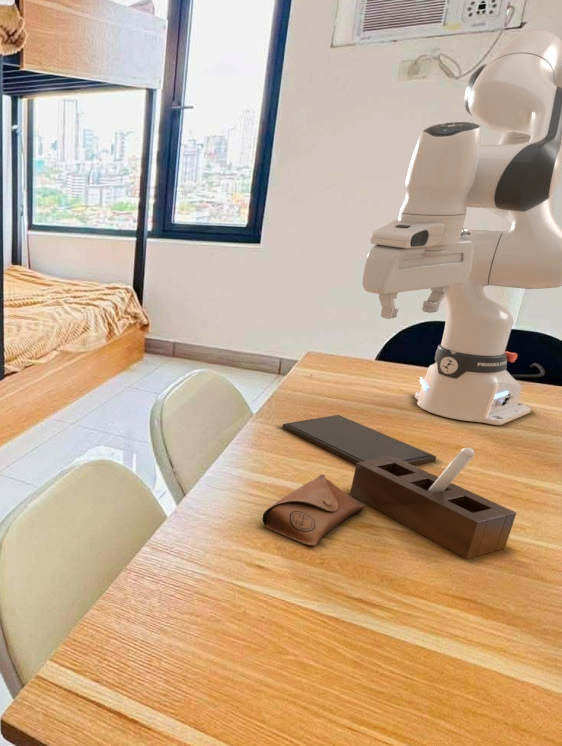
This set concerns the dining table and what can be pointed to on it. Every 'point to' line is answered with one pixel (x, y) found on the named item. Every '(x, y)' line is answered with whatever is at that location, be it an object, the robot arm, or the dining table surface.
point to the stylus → (452, 470)
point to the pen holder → (433, 507)
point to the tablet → (355, 440)
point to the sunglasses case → (310, 511)
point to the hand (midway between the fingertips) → (409, 314)
